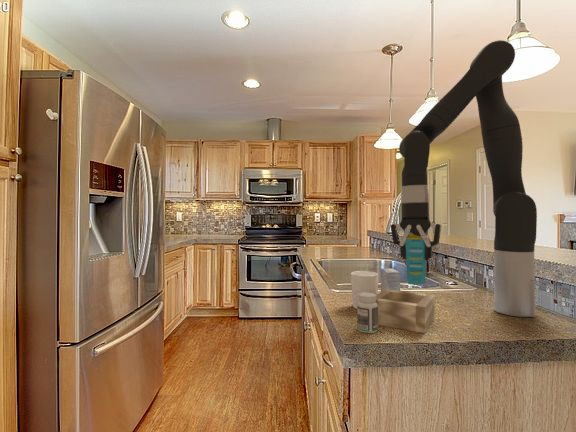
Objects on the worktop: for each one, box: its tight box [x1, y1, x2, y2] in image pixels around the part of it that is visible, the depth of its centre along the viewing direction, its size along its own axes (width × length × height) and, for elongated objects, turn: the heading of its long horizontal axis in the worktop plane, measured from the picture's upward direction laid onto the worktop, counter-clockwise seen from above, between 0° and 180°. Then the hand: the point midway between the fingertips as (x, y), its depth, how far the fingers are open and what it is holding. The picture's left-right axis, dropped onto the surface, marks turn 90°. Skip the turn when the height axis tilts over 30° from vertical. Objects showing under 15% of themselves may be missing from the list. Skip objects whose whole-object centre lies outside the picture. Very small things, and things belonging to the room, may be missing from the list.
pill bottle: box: [356, 293, 379, 334], centre depth 77 cm, size 5×5×8 cm
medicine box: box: [380, 268, 401, 292], centre depth 110 cm, size 8×4×9 cm, turn 179°
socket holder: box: [375, 289, 436, 334], centre depth 84 cm, size 13×13×6 cm
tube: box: [403, 228, 429, 286], centre depth 96 cm, size 7×5×19 cm, turn 73°
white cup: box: [350, 270, 379, 310], centre depth 96 cm, size 8×8×10 cm
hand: (415, 259), depth 95 cm, fingers closed on tube, 6 cm apart
